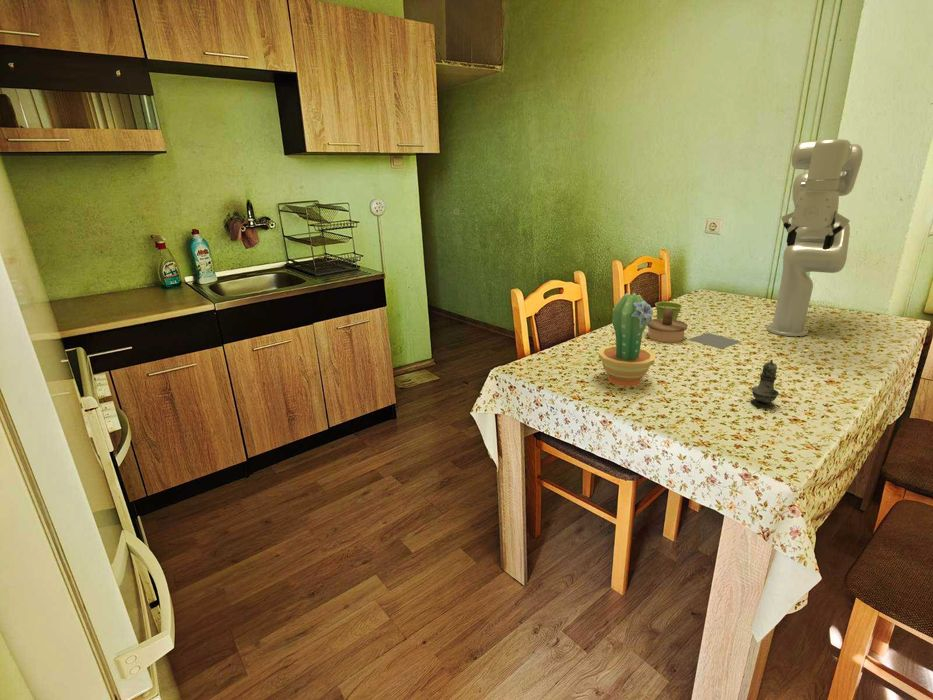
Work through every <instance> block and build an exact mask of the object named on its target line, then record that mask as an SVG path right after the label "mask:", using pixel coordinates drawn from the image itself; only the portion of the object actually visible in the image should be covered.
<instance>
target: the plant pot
mask: <svg viewBox="0 0 933 700" xmlns="http://www.w3.org/2000/svg"><path fill="white" fill-rule="evenodd" d="M654 306H655V309H656V319H663V314H664V309H672V310H673V318H672V319H673V320H677V319H678V317H679V313H680V312H681V309H683V305H682V304H680V303H677V302H673V301H671V302H670V301H657V302H656V303H654Z"/></svg>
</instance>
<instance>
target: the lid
mask: <svg viewBox="0 0 933 700" xmlns="http://www.w3.org/2000/svg"><path fill="white" fill-rule="evenodd" d="M672 318H673V310H672V309H664V314H663V319H657V318H654V319H653V318H652V321H651V324H649V322H647V325H646V327H648V329H649V328H651V329H654V330H658V331H665V332H680V331H684V332H685V331H686V330H687V329H688V324H687V323H686V322H684V321H681V320H673V319H672Z"/></svg>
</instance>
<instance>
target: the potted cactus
mask: <svg viewBox="0 0 933 700" xmlns="http://www.w3.org/2000/svg"><path fill="white" fill-rule="evenodd" d="M653 316H654V312H653V308H652V306H651V305H650V304H648V302H647V301H645V299H643V297H642V295H641V294H637V293H634V292H633V293H631V294H630V293H628V292H626V293H625V294H623V295H622V297H621V298H620V299H619V300H618V302H617V303H616V304H615V306H613V308H612V326H613V329H614V330H613V331H614V333H615V344H614V345H607V346H604V347H601V348H600V349H599V350H598V359H599V360H600V361H601V363H602V368H603V370H604V371H605V373H606V374H607V376H608V377H607V381H609V382H610V383H611V384H613V385H616V386H618V387H619V386H620V387H627V388H629V387H635V386H636V387H637V386H639V385H640V384H641V379H642V378H643V377H644V376H645V375H646V374H647V373H648V370H649V368H650V367H651V366H654V363H655V360H656V353H654V352H652V351H651V350H650V349H647V348H644V347H641V344H642V340H643V339H642V338H643V333H644V332H645V331H644V330H645V328H646V327H647V322H649V324H651V321H652V319H653Z"/></svg>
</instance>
